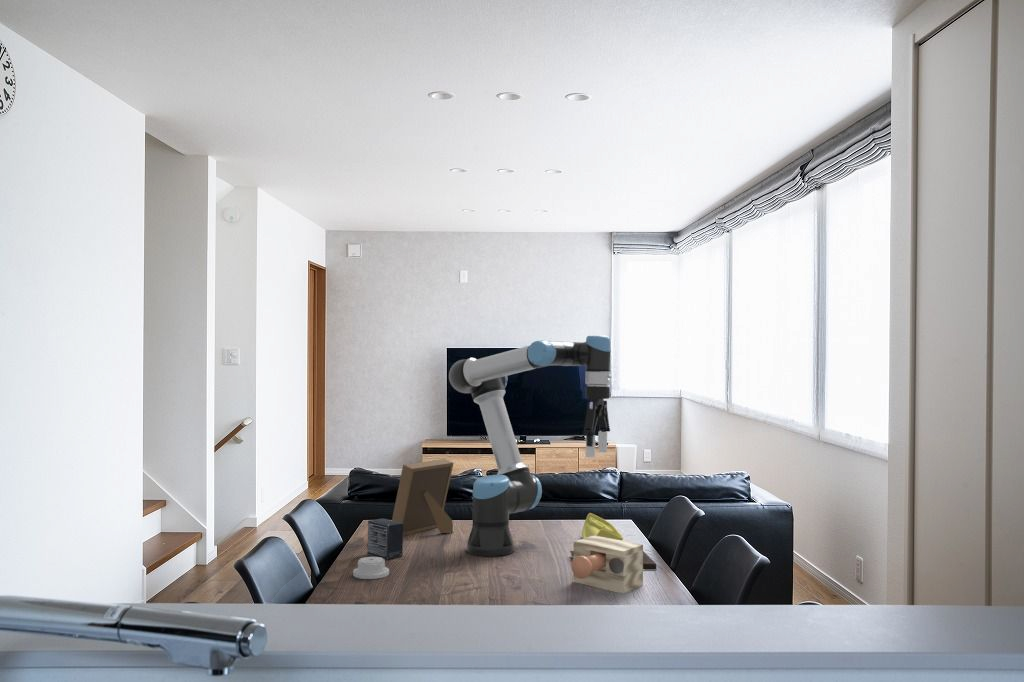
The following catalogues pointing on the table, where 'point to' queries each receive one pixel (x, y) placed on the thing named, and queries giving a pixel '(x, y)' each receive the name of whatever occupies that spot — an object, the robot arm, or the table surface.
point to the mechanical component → (371, 568)
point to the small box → (385, 538)
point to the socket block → (612, 563)
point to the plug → (588, 564)
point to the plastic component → (599, 528)
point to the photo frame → (423, 497)
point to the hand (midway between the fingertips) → (596, 454)
